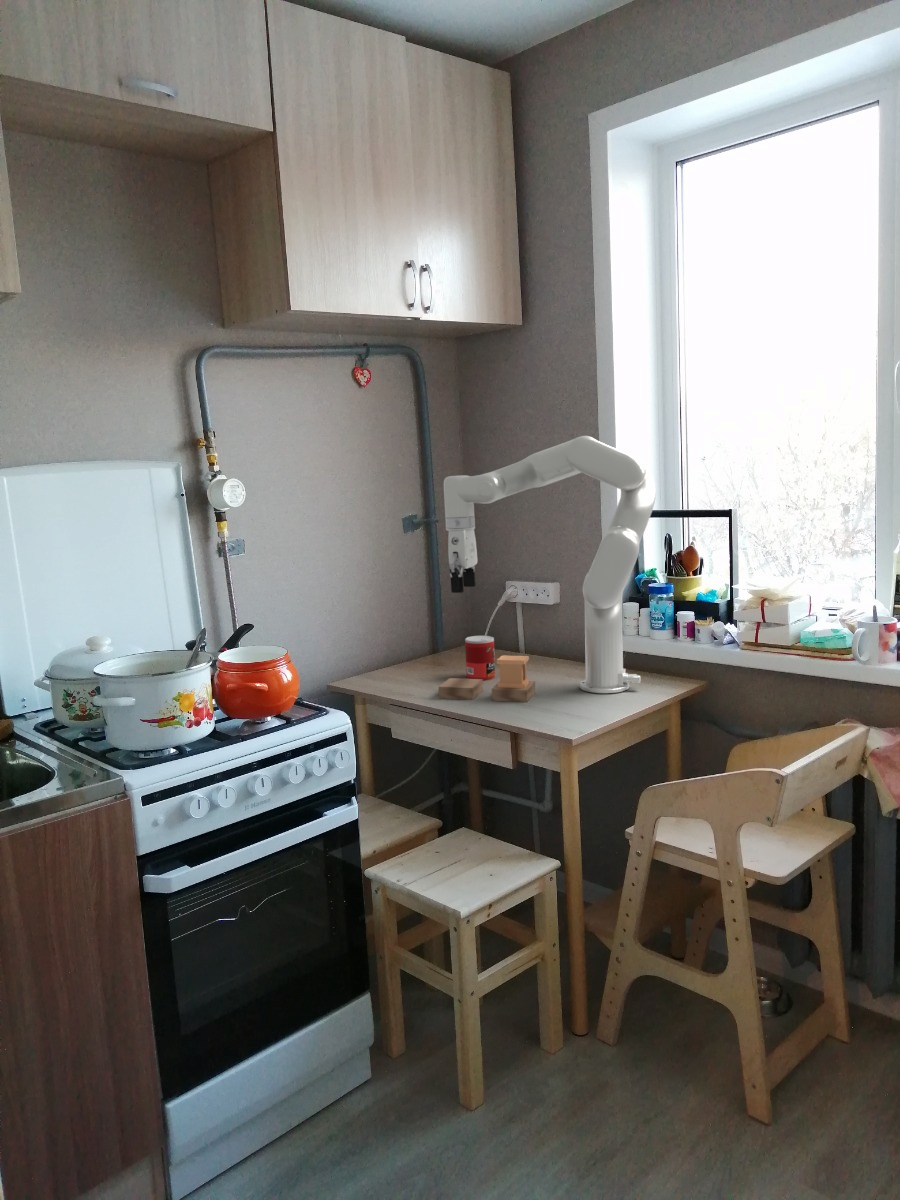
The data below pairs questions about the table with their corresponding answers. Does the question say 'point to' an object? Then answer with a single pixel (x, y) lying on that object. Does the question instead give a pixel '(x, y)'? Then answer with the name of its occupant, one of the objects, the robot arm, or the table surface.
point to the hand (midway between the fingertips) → (463, 589)
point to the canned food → (480, 657)
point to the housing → (513, 671)
